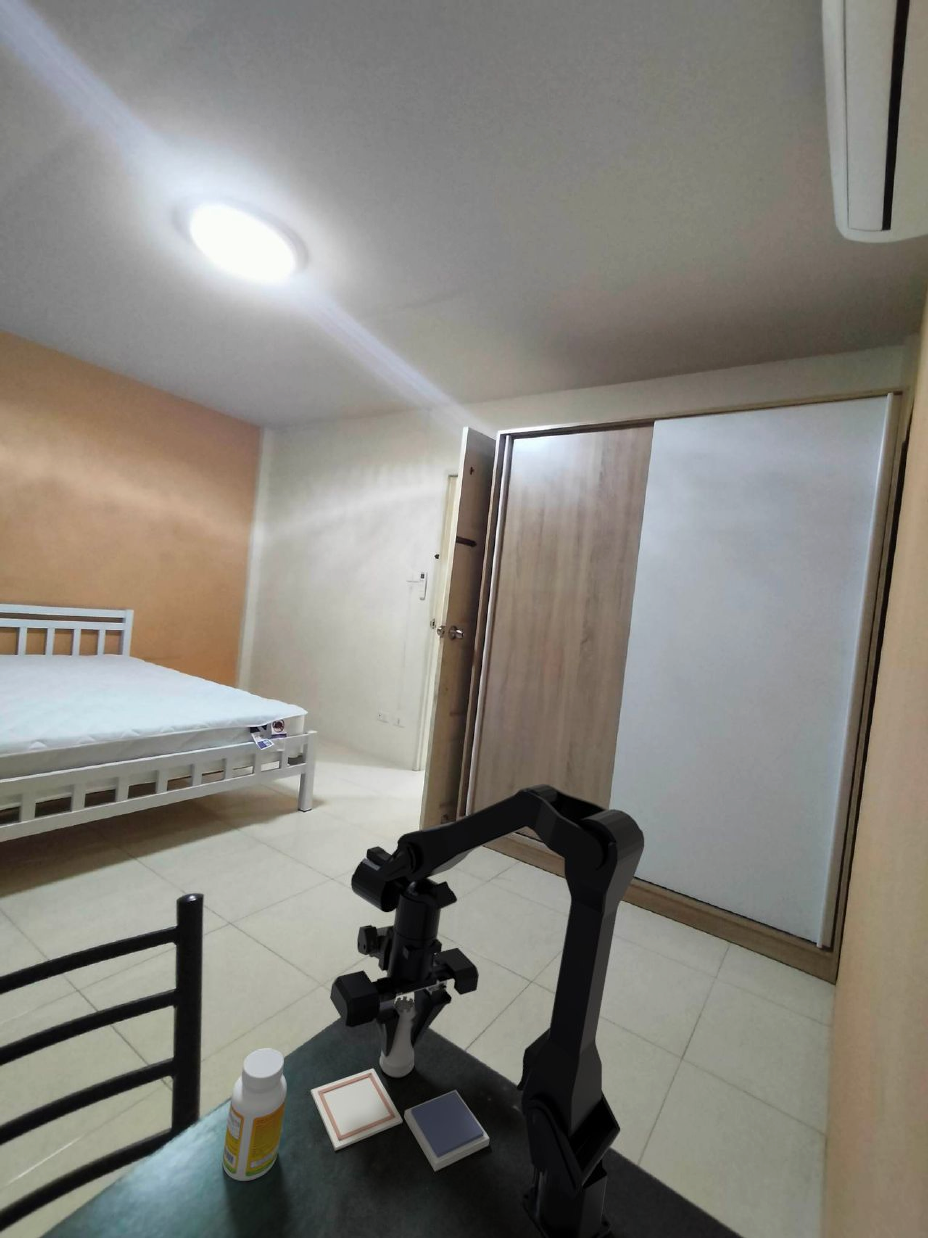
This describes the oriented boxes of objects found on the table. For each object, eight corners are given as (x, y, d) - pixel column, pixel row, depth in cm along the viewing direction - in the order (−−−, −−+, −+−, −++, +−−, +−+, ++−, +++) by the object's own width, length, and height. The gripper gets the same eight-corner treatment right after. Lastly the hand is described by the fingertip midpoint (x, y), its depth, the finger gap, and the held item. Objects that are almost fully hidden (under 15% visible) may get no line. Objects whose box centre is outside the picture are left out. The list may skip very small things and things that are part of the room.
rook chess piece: (416, 1056, 74) (425, 995, 74) (410, 1083, 69) (419, 1018, 69) (383, 1049, 74) (391, 988, 74) (374, 1075, 70) (384, 1011, 70)
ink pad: (488, 1145, 62) (490, 1134, 62) (434, 1171, 59) (436, 1160, 59) (454, 1096, 68) (456, 1086, 68) (404, 1117, 64) (405, 1107, 64)
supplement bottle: (285, 1137, 60) (298, 1046, 60) (266, 1188, 55) (280, 1088, 55) (235, 1129, 60) (249, 1038, 60) (211, 1178, 55) (226, 1078, 55)
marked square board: (402, 1122, 64) (402, 1119, 64) (335, 1151, 59) (335, 1147, 59) (372, 1070, 70) (373, 1067, 70) (310, 1092, 66) (311, 1089, 66)
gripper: (444, 888, 84) (429, 992, 83) (324, 908, 73) (307, 1027, 73) (488, 927, 74) (471, 1045, 74) (357, 956, 64) (338, 1093, 64)
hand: (398, 1049), depth 72 cm, fingers closed on rook chess piece, 3 cm apart
